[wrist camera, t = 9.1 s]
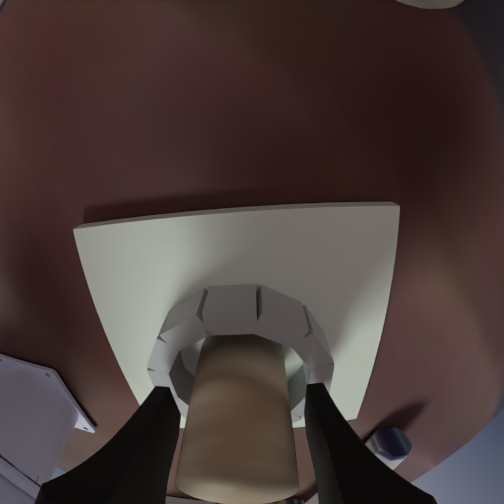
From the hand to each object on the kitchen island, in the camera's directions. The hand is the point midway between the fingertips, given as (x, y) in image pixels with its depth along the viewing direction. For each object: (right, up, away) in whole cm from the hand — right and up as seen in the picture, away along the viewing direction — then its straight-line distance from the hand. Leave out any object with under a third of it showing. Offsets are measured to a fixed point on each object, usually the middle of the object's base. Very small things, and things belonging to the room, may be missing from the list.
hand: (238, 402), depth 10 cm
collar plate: (0, +1, +3) cm, 4 cm away
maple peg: (0, +1, +3) cm, 3 cm away
